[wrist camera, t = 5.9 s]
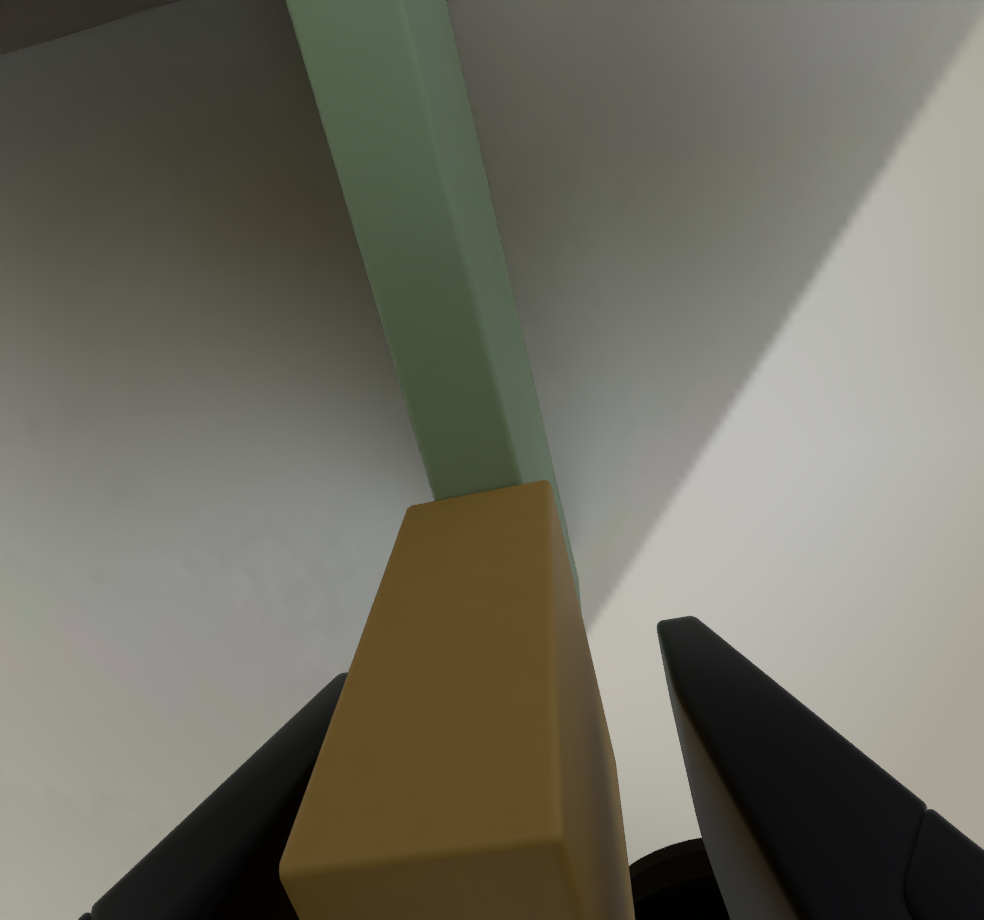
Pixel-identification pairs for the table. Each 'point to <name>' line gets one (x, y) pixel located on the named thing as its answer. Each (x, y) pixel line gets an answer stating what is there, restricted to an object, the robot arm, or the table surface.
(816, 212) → the table surface
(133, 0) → the cubby
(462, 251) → the green and tan bar
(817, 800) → the robot arm
